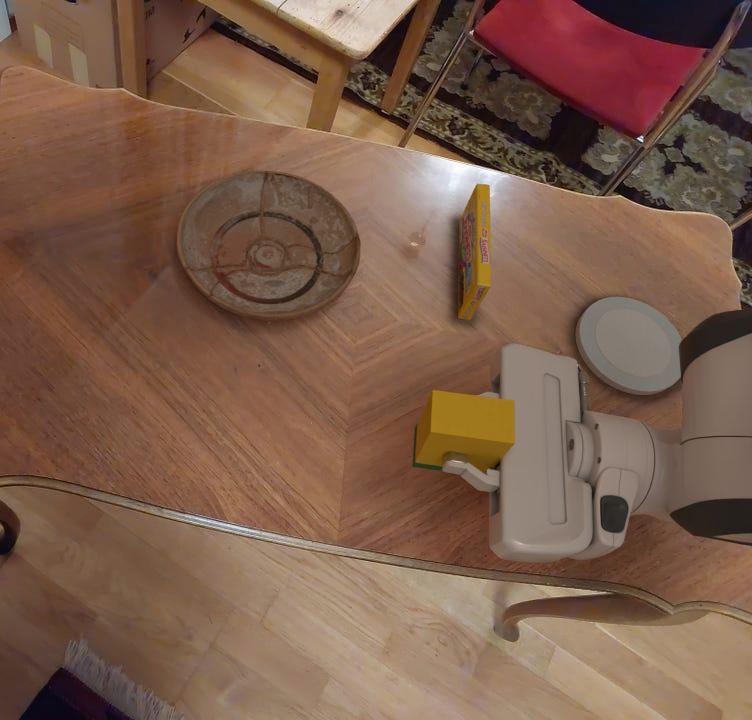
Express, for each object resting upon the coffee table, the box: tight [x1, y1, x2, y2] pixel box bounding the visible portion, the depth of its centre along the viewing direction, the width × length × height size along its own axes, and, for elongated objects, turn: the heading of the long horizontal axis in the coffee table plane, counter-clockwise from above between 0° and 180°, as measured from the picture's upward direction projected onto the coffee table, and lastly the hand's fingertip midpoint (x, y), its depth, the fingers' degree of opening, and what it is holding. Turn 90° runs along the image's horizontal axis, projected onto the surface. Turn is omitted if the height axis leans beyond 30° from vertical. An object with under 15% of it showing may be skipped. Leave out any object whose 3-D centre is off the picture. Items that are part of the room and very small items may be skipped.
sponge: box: [412, 389, 515, 473], centre depth 60 cm, size 4×7×9 cm, turn 81°
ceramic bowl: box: [176, 170, 362, 322], centre depth 85 cm, size 23×24×5 cm
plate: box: [574, 296, 683, 396], centre depth 85 cm, size 14×14×1 cm
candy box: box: [457, 183, 492, 321], centre depth 86 cm, size 16×2×8 cm, turn 172°
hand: (445, 433), depth 60 cm, fingers closed on sponge, 4 cm apart
